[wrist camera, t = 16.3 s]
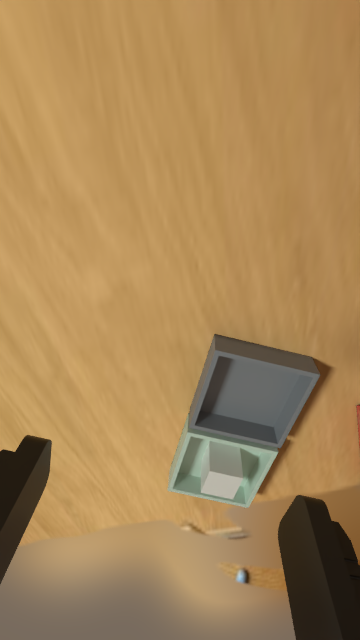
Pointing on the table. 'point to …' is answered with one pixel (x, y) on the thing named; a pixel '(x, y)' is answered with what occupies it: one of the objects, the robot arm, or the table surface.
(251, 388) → the bin
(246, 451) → the bin
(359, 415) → the cracker box
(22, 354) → the table surface
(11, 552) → the robot arm
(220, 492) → the light grey block
